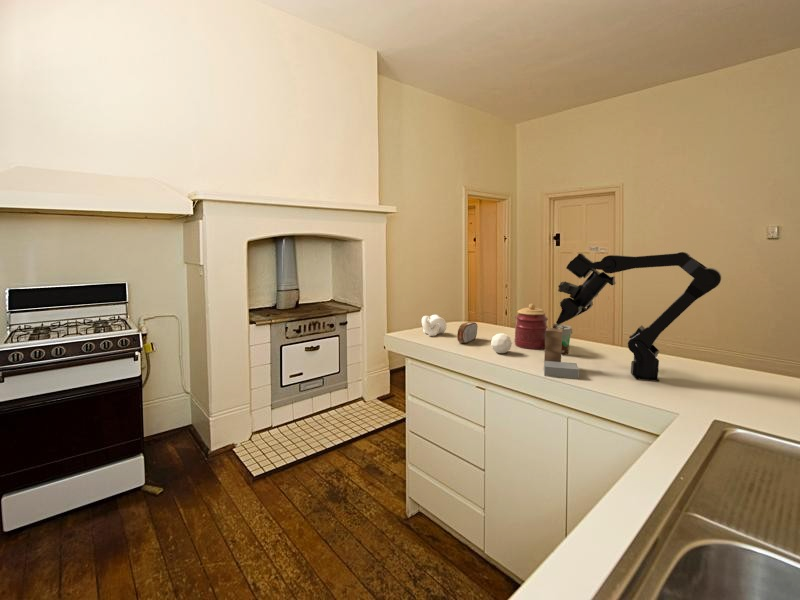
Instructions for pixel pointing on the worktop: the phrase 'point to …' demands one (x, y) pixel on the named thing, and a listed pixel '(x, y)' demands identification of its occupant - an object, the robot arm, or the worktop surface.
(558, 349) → the walnut block
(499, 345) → the ball
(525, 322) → the canister
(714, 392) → the worktop surface
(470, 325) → the tin
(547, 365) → the grey base plate
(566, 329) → the food container
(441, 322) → the white lumpy piece
